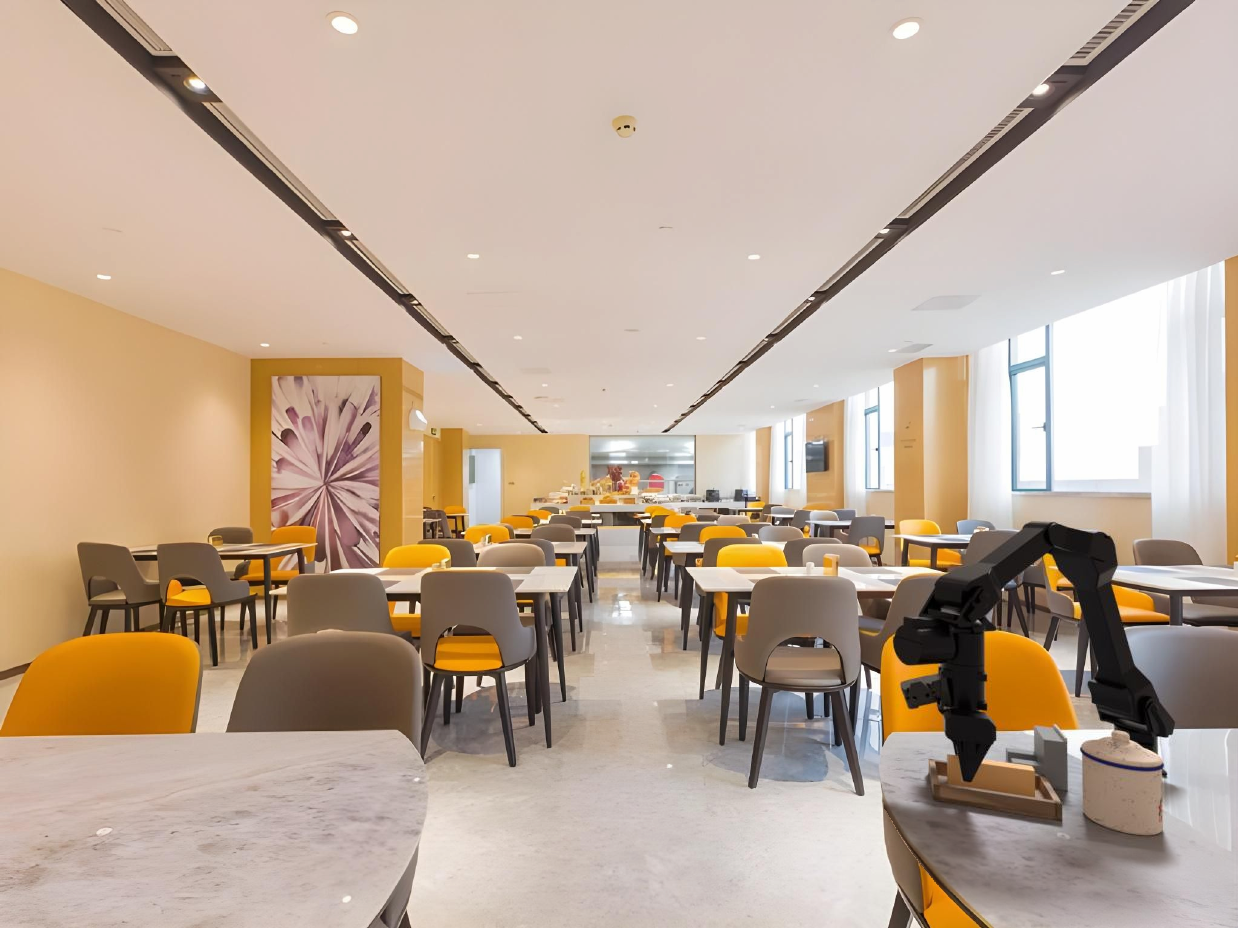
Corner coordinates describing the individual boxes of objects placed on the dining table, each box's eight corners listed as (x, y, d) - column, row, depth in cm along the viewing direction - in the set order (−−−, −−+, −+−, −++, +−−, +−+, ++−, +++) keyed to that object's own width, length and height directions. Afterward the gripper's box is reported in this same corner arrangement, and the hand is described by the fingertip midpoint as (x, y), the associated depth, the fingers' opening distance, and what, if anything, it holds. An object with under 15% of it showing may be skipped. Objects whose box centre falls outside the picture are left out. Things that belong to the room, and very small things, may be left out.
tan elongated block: (947, 781, 102) (947, 753, 102) (1032, 794, 98) (1031, 765, 98) (948, 786, 100) (948, 758, 100) (1035, 800, 96) (1034, 770, 96)
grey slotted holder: (1005, 766, 110) (1005, 718, 110) (1056, 773, 107) (1055, 724, 108) (1013, 782, 103) (1013, 731, 104) (1067, 790, 101) (1067, 738, 101)
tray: (928, 772, 106) (928, 758, 106) (1044, 790, 101) (1044, 774, 101) (933, 799, 96) (933, 783, 97) (1062, 820, 91) (1062, 803, 91)
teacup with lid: (1182, 840, 86) (1180, 746, 87) (1103, 833, 88) (1102, 741, 88) (1126, 799, 98) (1124, 717, 99) (1057, 794, 99) (1056, 712, 100)
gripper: (901, 644, 112) (901, 741, 112) (905, 669, 95) (905, 784, 94) (977, 651, 109) (978, 751, 108) (996, 678, 91) (997, 798, 90)
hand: (963, 769), depth 100 cm, fingers open, 9 cm apart
